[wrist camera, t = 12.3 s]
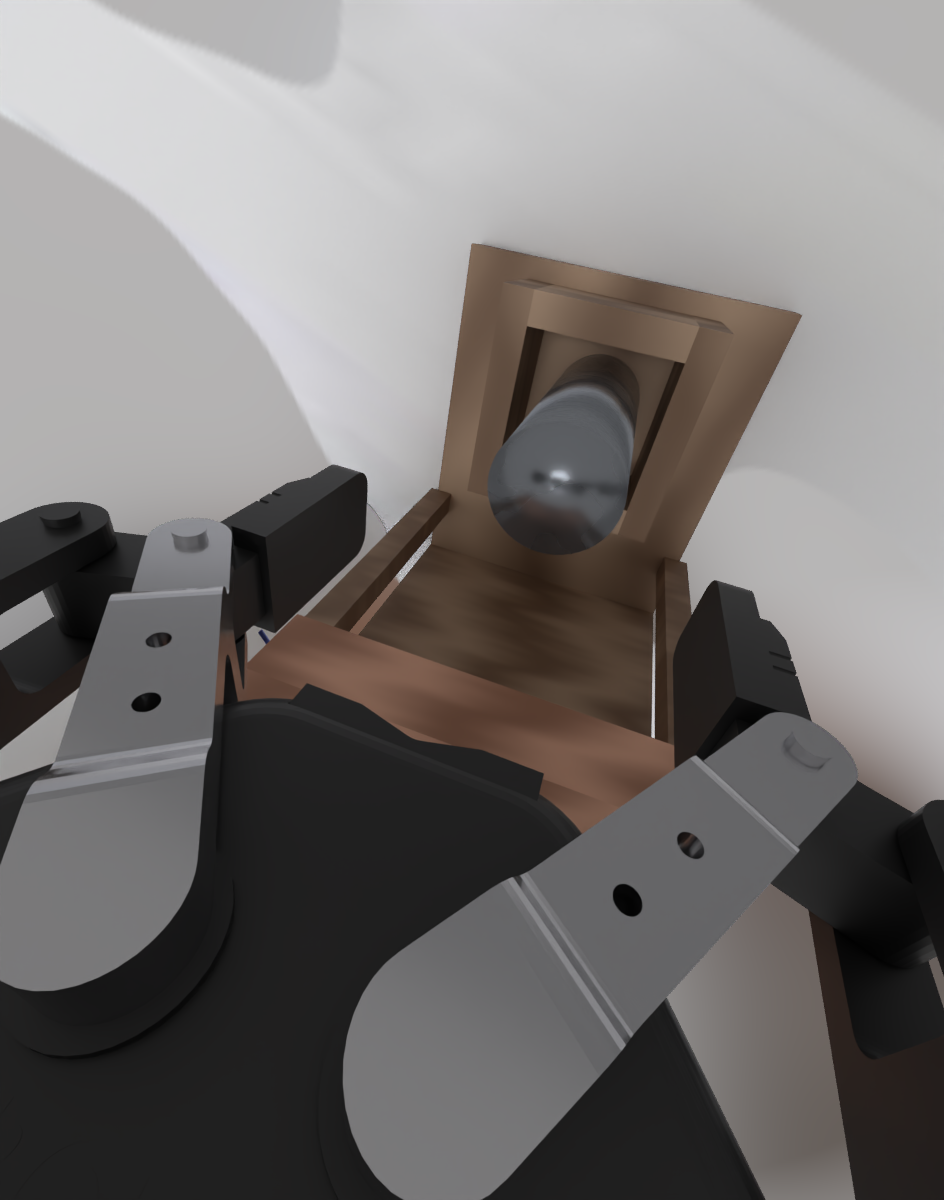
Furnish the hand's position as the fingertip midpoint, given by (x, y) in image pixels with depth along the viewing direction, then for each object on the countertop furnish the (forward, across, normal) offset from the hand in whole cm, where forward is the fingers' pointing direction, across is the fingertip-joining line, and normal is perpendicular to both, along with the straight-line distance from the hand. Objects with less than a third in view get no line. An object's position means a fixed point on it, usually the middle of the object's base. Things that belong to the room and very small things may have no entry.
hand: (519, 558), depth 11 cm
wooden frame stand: (+17, 0, +4) cm, 18 cm away
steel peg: (+16, 0, 0) cm, 16 cm away
